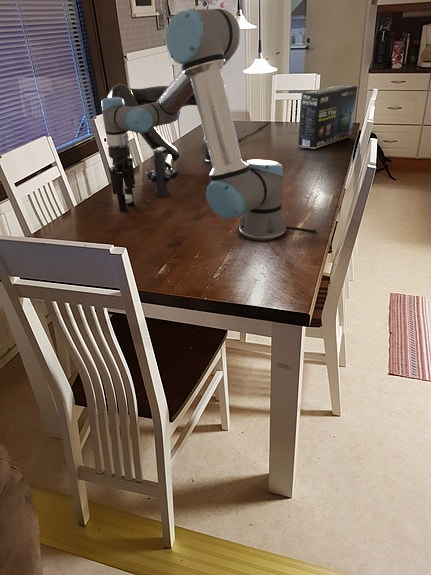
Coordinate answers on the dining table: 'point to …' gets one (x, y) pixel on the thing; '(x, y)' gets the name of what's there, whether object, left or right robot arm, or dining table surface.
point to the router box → (326, 115)
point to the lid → (128, 198)
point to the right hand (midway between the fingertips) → (127, 207)
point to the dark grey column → (160, 173)
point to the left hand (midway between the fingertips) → (160, 180)
